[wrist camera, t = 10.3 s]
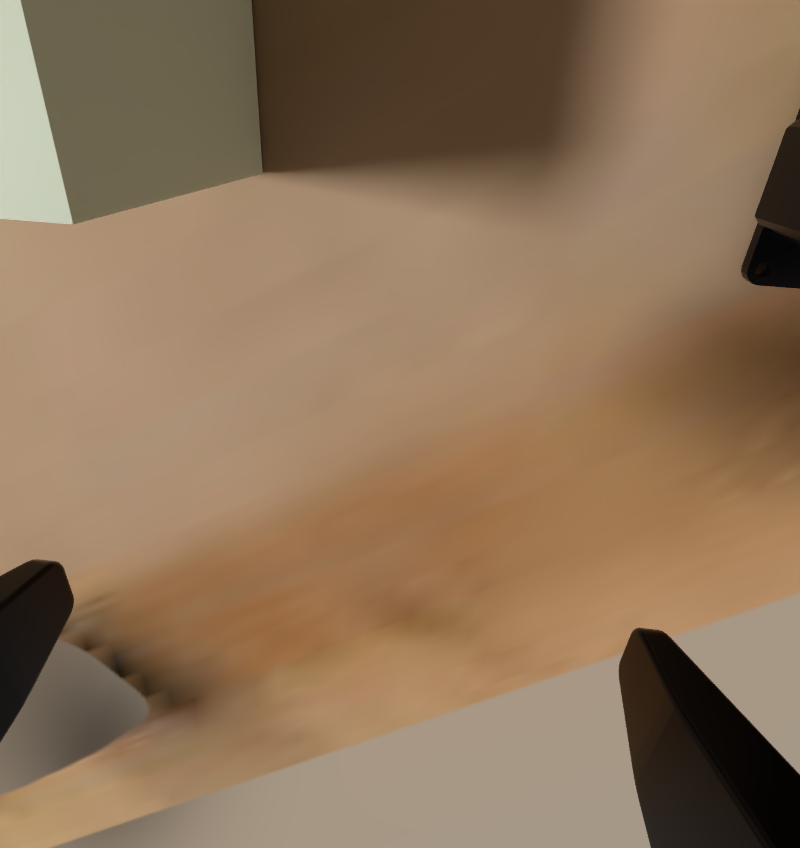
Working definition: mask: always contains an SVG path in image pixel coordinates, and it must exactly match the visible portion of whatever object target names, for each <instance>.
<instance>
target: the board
mask: <svg viewBox="0 0 800 848" xmlns="http://www.w3.org/2000/svg"><path fill="white" fill-rule="evenodd" d="M262 173H263V170H262V154H261V139H260V124H259V108H258V93H257V78H256V63H255V47H254V32H253V17H252V1H251V0H0V219H11V220H24V221H37V222H50V223H63V224H76V223H80V222H84V221H87V220H91V219H95V218H98V217H102V216H106V215H110V214H113V213H117V212H121V211H124V210H128V209H132V208H136V207H139V206H143V205H147V204H151V203H154V202H158V201H162V200H165V199H169V198H173V197H177V196H180V195H184V194H188V193H191V192H195V191H199V190H203V189H206V188H210V187H214V186H218V185H221V184H225V183H229V182H232V181H236V180H240V179H244V178H247V177H251V176H255V175H258V174H262Z"/></svg>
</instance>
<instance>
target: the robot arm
mask: <svg viewBox="0 0 800 848" xmlns="http://www.w3.org/2000/svg"><path fill="white" fill-rule="evenodd" d="M755 217H756V219H757V221H758V224H757V226H756V229H755V232H754V235H753V237H752V240H751V243H750V246H749V248H748V251H747V254H746V256H745V259H744V262H743V265H742V270H741V273H742V276H743V277H744V278H745V279H746V280H747V281H749V282H750V283H752V284H755V285H761V286H774V287H787V288H800V109H799V112H798V115H797V117H796V120H795V122H794V123H792V124H791V125H790V126H789V127H788V128H787V129H786V131H785V134H784V136H783V139H782V142H781V145H780V147H779V150H778V153H777V156H776V159H775V161H774V164H773V167H772V170H771V172H770V175H769V178H768V181H767V183H766V186H765V189H764V192H763V194H762V197H761V200H760V203H759V205H758V208H757V211H756V214H755ZM762 262H766V263H767V264H766V268H765V270H764V271H763V272H762V273H760V274H755V270H756V268H757V266H758V265H759V264H761V263H762ZM73 604H74V597H73V593H72V591H71V588H70V585H69V582H68V579H67V576H66V573H65V570H64V568H63V566H62V565H61V564H60V563H59V562H56V561H48V560H38V559H36V560H31V561H28V562H26V563H24V564H22V565H20V566H18V567H16V568H14V569H12V570H11V571H9V572H7V573H5V574H3V575H1V576H0V742H1V740H2V739H3V737H4V736H5V734H6V733H7V731H8V729H9V728H10V726H11V725H12V723H13V722H14V720H15V718H16V716H17V715H18V713H19V712H20V710H21V708H22V707H23V705H24V703H25V701H26V699H27V697H28V695H29V694H30V692H31V690H32V688H33V686H34V684H35V683H36V681H37V679H38V677H39V675H40V673H41V671H42V669H43V667H44V665H45V663H46V661H47V659H48V657H49V655H50V653H51V651H52V649H53V647H54V645H55V643H56V641H57V640H58V638H59V636H60V634H61V632H62V630H63V628H64V626H65V624H66V622H67V620H68V618H69V616H70V614H71V612H72V609H73ZM619 681H620V687H621V694H622V701H623V708H624V714H625V721H626V728H627V734H628V741H629V748H630V755H631V761H632V768H633V774H634V779H635V785H636V789H637V794H638V798H639V802H640V806H641V810H642V814H643V818H644V822H645V826H646V830H647V834H648V838H649V842H650V846H651V848H800V774H799V773H798V772H797V771H796V770H795V769H794V768H793V767H792V766H791V765H790V764H789V763H788V762H787V761H786V760H785V758H784V757H783V756H782V755H781V754H780V753H779V752H778V751H777V750H776V749H775V748H774V747H773V746H772V745H771V744H770V743H769V742H768V740H766V738H765V737H764V736H763V735H762V734H761V733H760V732H759V731H758V730H757V729H756V728H755V727H754V726H753V725H752V723H751V722H750V721H749V720H748V719H747V718H746V717H745V716H744V715H743V714H742V713H741V712H740V711H739V710H738V709H737V708H736V707H735V705H734V704H733V703H732V702H731V701H730V700H729V699H728V698H727V697H726V696H725V695H724V694H723V693H722V692H721V691H720V690H719V689H718V688H717V686H715V684H713V682H712V681H711V680H710V679H709V678H708V677H707V676H706V675H705V674H704V673H703V672H702V671H701V670H700V669H699V667H698V666H697V665H696V664H695V663H694V662H693V661H692V660H691V659H690V658H689V657H688V656H687V655H686V654H685V653H684V652H683V650H682V649H681V648H680V647H678V645H677V644H676V643H675V642H674V641H673V640H672V639H671V638H670V637H669V636H668V635H667V634H666V633H664V632H663V631H660V630H654V629H645V628H636V629H635V630H634V631H633V632H632V633H631V636H630V638H629V641H628V643H627V645H626V648H625V650H624V653H623V655H622V658H621V661H620V664H619Z"/></svg>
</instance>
